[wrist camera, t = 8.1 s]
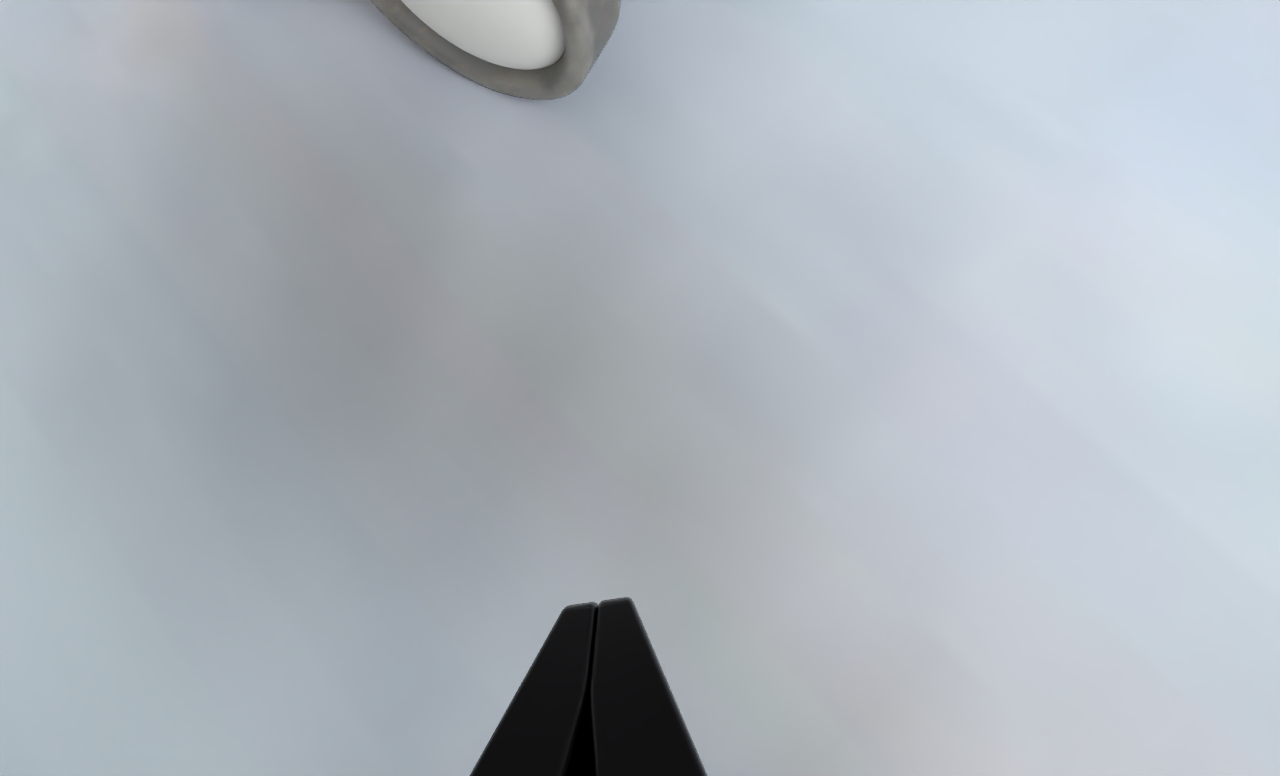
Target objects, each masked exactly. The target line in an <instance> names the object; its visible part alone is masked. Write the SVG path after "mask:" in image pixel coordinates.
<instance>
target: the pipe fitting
mask: <svg viewBox="0 0 1280 776" xmlns="http://www.w3.org/2000/svg"><path fill="white" fill-rule="evenodd" d="M371 1H372V2H373V3H374V5H375V6H376V7H377V8H378V9H379V10H380V11H381V12H382V13H383V14H384V15H385V16H386V17H387V18H388V19H389V20H390V21H391V22H392V23H393V24H394V25H395V26H397V27H398V28H399V29H400V30H401V31H402V32H403V33H404V34H406V35H407V36H408V37H409V38H410V39H411V40H413V41H414V42H415V43H416V44H417V45H419V46H420V47H421V48H423V49H424V50H425V51H427V52H428V53H429V54H430V55H432V56H433V57H435V58H436V59H437V60H439V61H440V62H442V63H443V64H445V65H447V66H448V67H450V68H451V69H453V70H455V71H456V72H458V73H460V74H461V75H463V76H465V77H467V78H469V79H471V80H473V81H475V82H477V83H479V84H481V85H483V86H485V87H488V88H490V89H492V90H495V91H498V92H501V93H505V94H509V95H513V96H517V97H522V98H528V99H536V100H551V99H557V98H561V97H564V96H566V95H568V94H570V93H572V92H573V91H574V90H576V89H577V88H578V87H579V86H580V85H581V83H582V82H583V80H584V79H585V77H586V76H587V74H588V73H589V71H590V69H591V68H592V66H593V64H594V63H595V61H596V59H597V58H598V56H599V55H600V53H601V51H602V50H603V48H604V46H605V45H606V43H607V41H608V40H609V38H610V36H611V34H612V33H613V31H614V28H615V26H616V23H617V20H618V17H619V11H620V0H371Z"/></svg>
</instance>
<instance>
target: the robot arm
mask: <svg viewBox="0 0 1280 776" xmlns="http://www.w3.org/2000/svg"><path fill="white" fill-rule="evenodd" d="M470 776H707V774H706V772H705V769H704V767H703V765H702V762H701V760H700V758H699V755H698V753H697V750H696V748H695V746H694V743H693V741H692V739H691V736H690V734H689V732H688V729H687V727H686V725H685V722H684V720H683V718H682V715H681V713H680V711H679V708H678V706H677V703H676V701H675V699H674V696H673V694H672V692H671V689H670V687H669V685H668V682H667V680H666V678H665V675H664V673H663V671H662V668H661V666H660V664H659V661H658V659H657V657H656V654H655V652H654V649H653V647H652V645H651V642H650V640H649V638H648V635H647V633H646V631H645V628H644V626H643V624H642V621H641V619H640V617H639V614H638V612H637V610H636V607H635V605H634V603H633V601H632V599H630V598H628V597H624V598H617V599H610V600H604V601H602V602H601V603H600V604H599V605H598V604H597V603H594V602H589V603H582V604H575V605H570V606H567V607H566V608H564V609H563V611H562V612H561V614H560V616H559V617H558V619H557V621H556V623H555V625H554V626H553V628H552V630H551V632H550V633H549V635H548V637H547V639H546V641H545V642H544V644H543V646H542V648H541V650H540V651H539V653H538V655H537V657H536V658H535V660H534V662H533V664H532V666H531V667H530V669H529V671H528V673H527V675H526V676H525V678H524V680H523V682H522V683H521V685H520V687H519V689H518V691H517V692H516V694H515V696H514V698H513V700H512V701H511V703H510V705H509V707H508V708H507V710H506V712H505V714H504V716H503V717H502V719H501V721H500V723H499V724H498V726H497V728H496V730H495V732H494V733H493V735H492V737H491V739H490V741H489V742H488V744H487V746H486V748H485V749H484V751H483V753H482V755H481V757H480V758H479V760H478V762H477V764H476V766H475V767H474V769H473V771H472V773H471V774H470Z"/></svg>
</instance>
